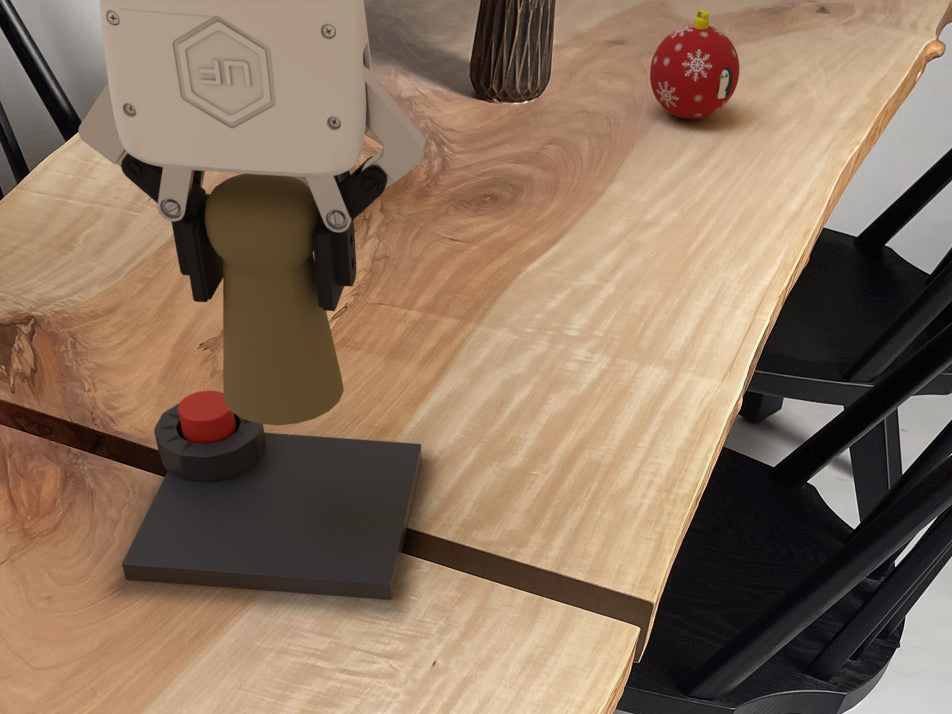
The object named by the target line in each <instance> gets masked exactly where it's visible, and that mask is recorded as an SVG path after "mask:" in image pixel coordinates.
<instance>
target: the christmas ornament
mask: <svg viewBox="0 0 952 714" xmlns="http://www.w3.org/2000/svg"><path fill="white" fill-rule="evenodd" d="M702 14H703V15H702ZM709 24H710V18H709V12H708V11H707V10H704V9H699V10H698V11H697V12H696V17H695V18H694V21H693V24H688V25H684V26H681V27H678V28H677V29H675V30H673V31H672V32H670V33H669V34H668V35H667V36H665V37H664V38H663V39H662V41H661V42H660V43H659V44H658V46H657V48H656V50H655V52H654V53H653V55H652V59H651V63H650V67H649V80H650V87H651V90H652V93H653V95H654V97H655V99H656V101H657V102H658V103H659V105H660V106H661V107H662V108H663V109H664V111H666V112H668V113H669V114H670V115H672V116H675V117H677V118H680V119H684V120H701V119H704V118H708V117H710V116H712V115H714V114H716V113H718V111H720V110H721V109H723V108H724V106H726V105H727V103H728V102H729V101H730V100H731V98H732V96H733V95H734V93H735V91H736V88H737V86H738V83H739V79H740V59H739V55H738V51H737V50H736V47H735V46H734V43H732V41H731V39H730V38H729V37H728V36H727V35H726V34H725V33H724V32H722V31H721V30H719V29H718V28H715V27H714V26H711V25H709Z"/></svg>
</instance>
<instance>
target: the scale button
mask: <svg viewBox="0 0 952 714" xmlns="http://www.w3.org/2000/svg"><path fill="white" fill-rule="evenodd" d="M179 403H180V404H179ZM179 403H178V404H179V406H178V412H179V417H180V422H181V427H182V432H183V435H184V437H185V438H186V439H187V440H188V441H189V442H191V443H201V444H210V443H214V442H219V441H223V440H226V439H227V438H229V437H230V436H232V435H233V434H234V432H235V429H236V423H235V417H234V413H233V412H232V411H230V410H229V408H228V407H227V405H226V403H225V402H224V396H223V391H222V392H221V391H217V390H201V391H200V390H199V391H197V392H193V393H191V394H189V395H187V396H185V397H183V398H182V399H181V400H180V401H179Z"/></svg>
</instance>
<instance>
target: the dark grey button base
mask: <svg viewBox="0 0 952 714" xmlns="http://www.w3.org/2000/svg"><path fill="white" fill-rule="evenodd" d="M179 404H180V402H179V403H177V404H175V405H174V406H172V407H170V408H169V409H167V410H165V411H164V412H163V413H162V414H161V415H160V417H159V419H158V421H157V423H156V424H155V427H154V428H153V432H154V437H155V442H156V446H157V450H158V454H159V457H160V459H161V462H162V465H163V467H164V469H165V470H166V471H167V472H166V473H165V476H164V478H163V480H162V482H161V483H160V486H159V488H158V489H157V491H156V493H155V496H154V498H153V499H152V502H151V504H150V506H149V508H148V510H147V512H146V514H145V516H144V518H143V520H142V522H141V524H140V526H139V528H138V531H137V533H136V534H135V536H134V539H133V540H132V542H131V545H130V546H129V549H128V551H127V553H126V554H125V556H124V558H123V560H122V562H121V567H122V570H123V574H124V578H125V580H126V581H135V582H136V581H137V582H148V583H149V582H150V583H151V582H152V583H165V584H175V585H190V586H205V587H216V588H229V589H243V590H253V591H255V590H256V591H269V592H279V593H293V594H294V593H295V594H308V595H321V596H333V597H346V598H360V599H373V600H374V599H375V600H385V601H391V600H393V599H392V598H393V593H394V589H395V585H396V580H397V575H398V570H399V567H400V561H401V557H402V552H403V548H404V542H405V537H406V533H407V530H408V524H409V519H410V515H411V511H412V505H413V501H414V496H415V492H416V491H415V490H416V486H417V482H418V477H419V473H420V469H421V463H422V459H423V458H422V455H423V454H422V444H421V443H414V442H413V443H412V442H401V441H385V440H373V439H360V438H359V439H357V438H346V437H345V438H343V437H331V436H317V435H302V434H292V433H291V434H289V433H275V432H265V428H264V424H258V423H255V422H252V421H249V420H245V419H242V418H240V417H239V416H238V415H236V414H235V413H234V417H235V423H236V429H235V432H234V434H233V435H232V436H230V437H229V438H227V439H226V440H223V441H219V442H214V443H210V444H201V443H191V442H189V441H188V440H187V439H186V438H185V437H184V435H183V432H182V427H181V422H180V417H179V412H178V406H179Z"/></svg>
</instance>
